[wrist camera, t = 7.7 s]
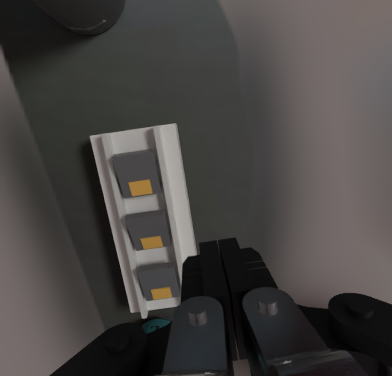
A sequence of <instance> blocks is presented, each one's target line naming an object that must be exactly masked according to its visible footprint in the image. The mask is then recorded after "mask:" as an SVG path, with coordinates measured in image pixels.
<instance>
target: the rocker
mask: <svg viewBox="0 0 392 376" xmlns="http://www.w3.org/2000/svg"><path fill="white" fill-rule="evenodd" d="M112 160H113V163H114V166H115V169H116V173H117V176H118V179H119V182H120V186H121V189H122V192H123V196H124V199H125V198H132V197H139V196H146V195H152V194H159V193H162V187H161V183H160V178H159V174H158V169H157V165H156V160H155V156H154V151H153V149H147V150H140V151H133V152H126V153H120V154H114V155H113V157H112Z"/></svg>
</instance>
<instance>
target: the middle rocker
mask: <svg viewBox="0 0 392 376" xmlns="http://www.w3.org/2000/svg"><path fill="white" fill-rule="evenodd" d="M125 222H126V225H127V227H128V230H129V233H130V235H131V238H132V241H133V243H134V246H135V248H136V251H140V250H147V249H154V248H161V247H168V246H171V237H170V233H169V229H168V225H167V221H166V217H165V213H164V209H161V210H154V211H147V212H140V213H133V214H126V217H125Z"/></svg>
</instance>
